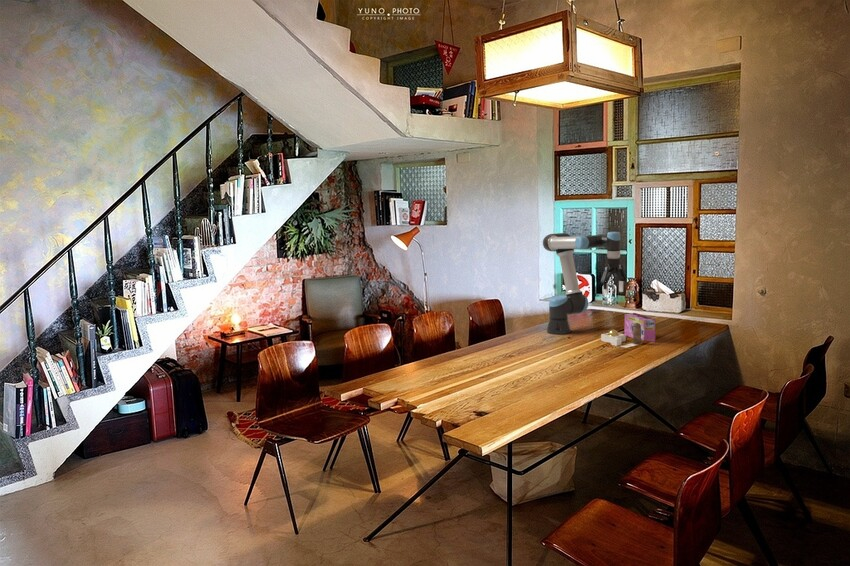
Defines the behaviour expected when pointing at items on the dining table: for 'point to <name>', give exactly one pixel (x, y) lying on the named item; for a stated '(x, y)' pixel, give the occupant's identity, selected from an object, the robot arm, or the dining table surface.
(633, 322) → the gum box
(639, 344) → the board
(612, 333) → the dome
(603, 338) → the dome collar
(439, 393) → the dining table surface
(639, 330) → the brown rounded rod
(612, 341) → the die
